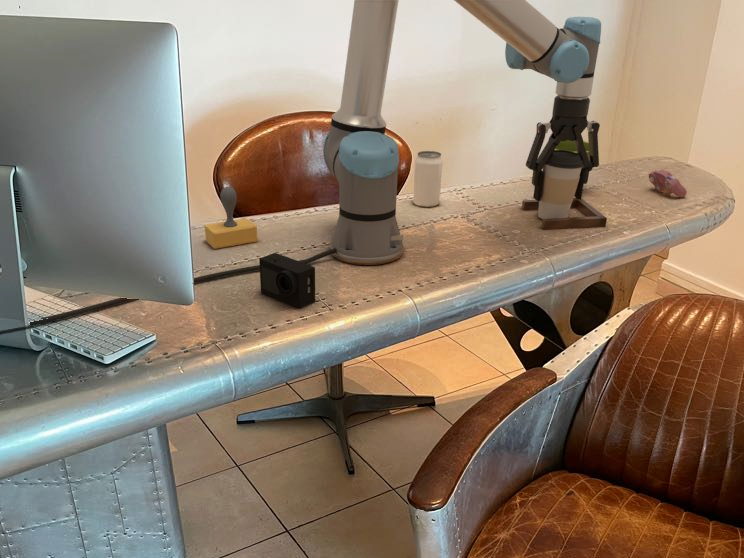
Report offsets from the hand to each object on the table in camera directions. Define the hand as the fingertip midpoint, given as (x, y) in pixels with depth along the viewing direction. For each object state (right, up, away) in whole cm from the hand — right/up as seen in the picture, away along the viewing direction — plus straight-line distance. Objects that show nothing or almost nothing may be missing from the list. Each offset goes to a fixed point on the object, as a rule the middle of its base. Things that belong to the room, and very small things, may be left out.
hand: (557, 198), depth 187 cm
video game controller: (+32, +6, +18) cm, 38 cm away
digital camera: (-61, -28, -36) cm, 76 cm away
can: (-29, +1, +11) cm, 31 cm away
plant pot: (+8, +7, +21) cm, 23 cm away
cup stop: (+2, -4, +3) cm, 5 cm away
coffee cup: (0, -4, +2) cm, 5 cm away
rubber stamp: (-74, -12, -11) cm, 76 cm away
